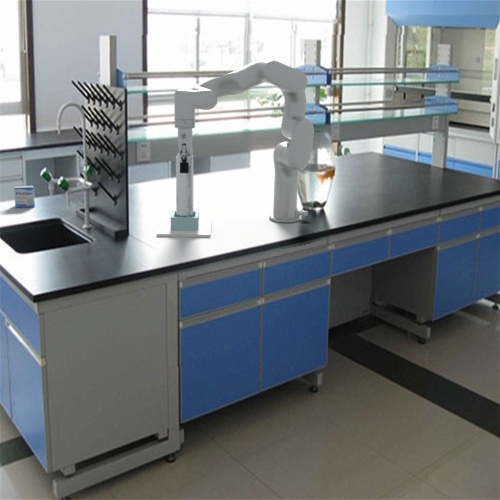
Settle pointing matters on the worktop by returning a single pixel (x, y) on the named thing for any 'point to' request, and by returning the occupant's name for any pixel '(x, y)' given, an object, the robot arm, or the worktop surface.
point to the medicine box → (24, 196)
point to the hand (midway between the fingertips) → (184, 170)
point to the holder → (184, 226)
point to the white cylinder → (184, 189)
